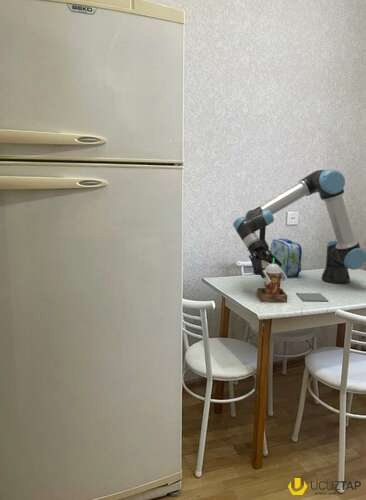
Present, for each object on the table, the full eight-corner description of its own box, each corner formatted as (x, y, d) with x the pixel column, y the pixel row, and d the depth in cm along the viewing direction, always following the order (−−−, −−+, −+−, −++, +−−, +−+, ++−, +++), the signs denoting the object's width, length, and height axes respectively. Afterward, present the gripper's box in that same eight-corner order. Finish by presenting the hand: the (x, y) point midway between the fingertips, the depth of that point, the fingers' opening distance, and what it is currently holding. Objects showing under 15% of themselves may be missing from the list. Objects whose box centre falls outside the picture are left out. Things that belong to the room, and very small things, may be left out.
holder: (281, 295, 200) (281, 288, 199) (287, 302, 188) (287, 295, 188) (256, 294, 200) (257, 287, 200) (261, 302, 188) (261, 294, 188)
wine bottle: (267, 275, 240) (270, 225, 234) (253, 274, 241) (255, 224, 236) (267, 272, 248) (269, 223, 242) (253, 271, 249) (255, 223, 244)
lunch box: (302, 278, 235) (305, 242, 231) (285, 278, 233) (288, 243, 229) (283, 268, 260) (284, 236, 256) (267, 268, 258) (269, 236, 254)
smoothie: (260, 296, 198) (262, 256, 194) (277, 295, 199) (279, 256, 195) (265, 301, 190) (267, 259, 186) (282, 301, 191) (285, 259, 187)
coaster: (320, 294, 202) (320, 293, 202) (328, 301, 190) (328, 300, 190) (296, 294, 202) (296, 292, 202) (302, 301, 190) (303, 300, 190)
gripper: (264, 246, 209) (287, 281, 200) (233, 251, 195) (256, 289, 186) (273, 237, 204) (297, 273, 195) (241, 242, 190) (265, 280, 181)
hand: (277, 281), depth 190 cm, fingers open, 11 cm apart
